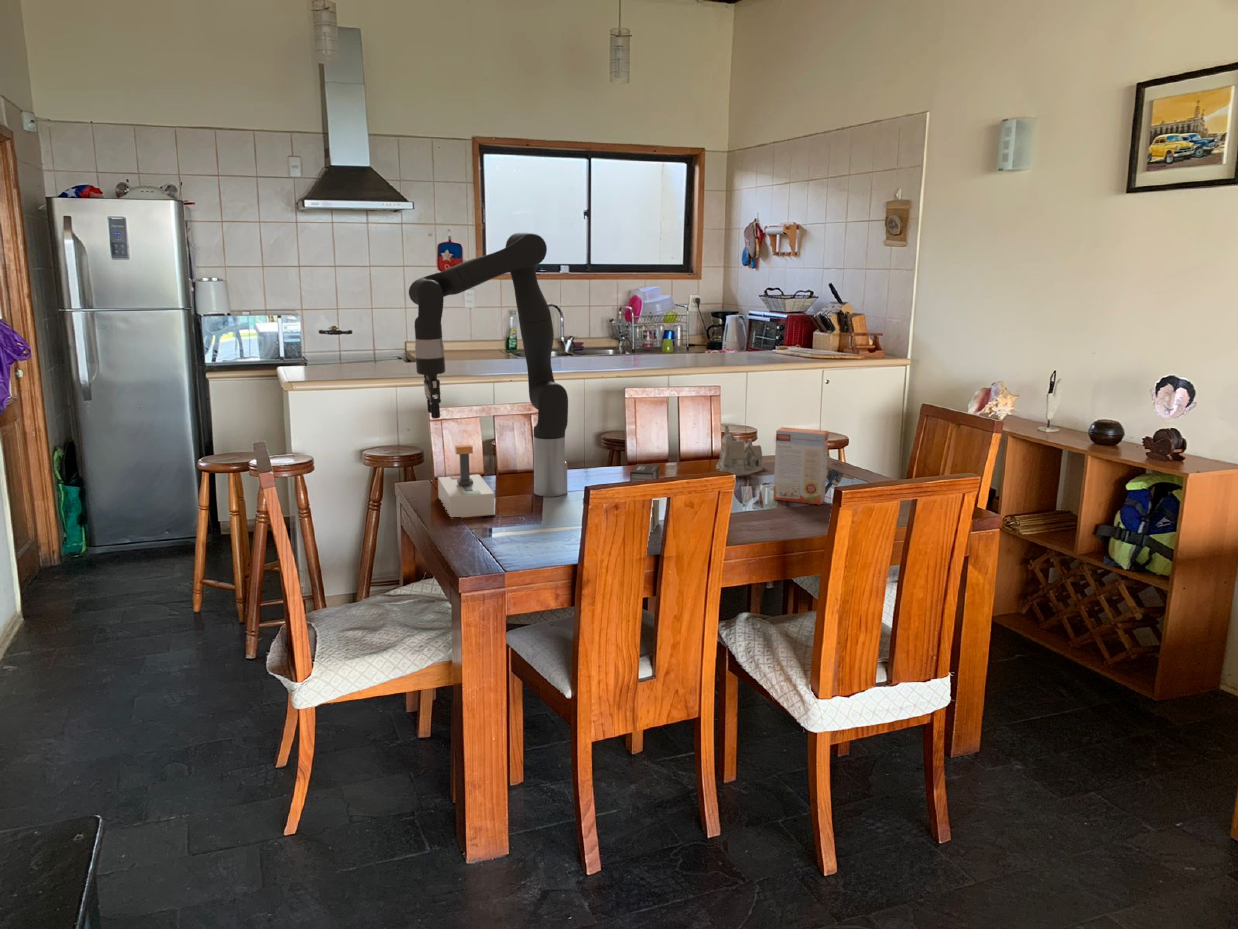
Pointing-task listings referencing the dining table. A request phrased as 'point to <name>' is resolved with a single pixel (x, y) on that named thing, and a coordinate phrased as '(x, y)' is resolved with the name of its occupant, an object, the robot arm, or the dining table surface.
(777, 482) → the cracker box
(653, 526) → the coffee box
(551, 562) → the dining table surface
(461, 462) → the breaker knob
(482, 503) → the switch panel
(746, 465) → the ceramic cottage
